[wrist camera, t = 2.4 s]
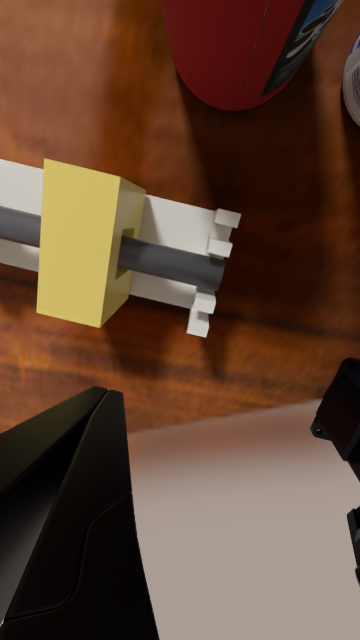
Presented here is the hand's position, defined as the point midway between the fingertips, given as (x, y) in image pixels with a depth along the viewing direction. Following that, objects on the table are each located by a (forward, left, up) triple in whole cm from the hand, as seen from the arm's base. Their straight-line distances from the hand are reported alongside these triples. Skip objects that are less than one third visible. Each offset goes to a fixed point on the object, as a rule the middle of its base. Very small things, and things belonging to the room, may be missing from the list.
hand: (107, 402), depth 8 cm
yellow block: (+4, -3, -11) cm, 12 cm away
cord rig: (+5, -3, -11) cm, 13 cm away
